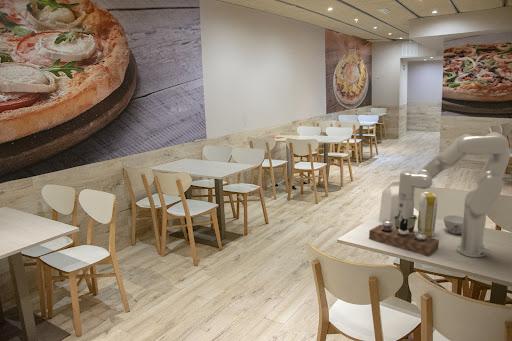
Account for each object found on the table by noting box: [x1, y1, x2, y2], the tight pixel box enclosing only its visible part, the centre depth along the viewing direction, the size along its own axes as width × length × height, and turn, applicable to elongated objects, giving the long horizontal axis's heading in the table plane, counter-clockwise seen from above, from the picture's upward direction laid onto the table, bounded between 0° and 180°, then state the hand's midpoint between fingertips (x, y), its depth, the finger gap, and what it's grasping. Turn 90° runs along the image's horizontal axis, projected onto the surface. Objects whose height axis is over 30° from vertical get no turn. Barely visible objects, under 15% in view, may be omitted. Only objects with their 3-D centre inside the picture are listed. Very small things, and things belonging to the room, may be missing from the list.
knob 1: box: [381, 220, 393, 233], centre depth 216 cm, size 5×5×6 cm
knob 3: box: [414, 231, 427, 242], centre depth 204 cm, size 5×5×6 cm
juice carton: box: [417, 191, 438, 238], centre depth 222 cm, size 9×8×24 cm
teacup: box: [443, 214, 464, 235], centre depth 225 cm, size 15×12×8 cm
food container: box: [394, 214, 418, 233], centre depth 228 cm, size 12×6×10 cm, turn 84°
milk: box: [378, 179, 400, 228], centre depth 239 cm, size 12×12×26 cm
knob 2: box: [398, 228, 409, 237], centre depth 210 cm, size 5×5×6 cm
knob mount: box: [368, 224, 440, 257], centre depth 211 cm, size 32×12×5 cm, turn 46°
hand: (403, 229), depth 209 cm, fingers closed
